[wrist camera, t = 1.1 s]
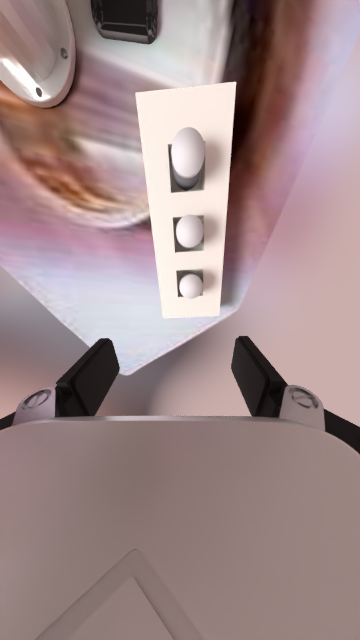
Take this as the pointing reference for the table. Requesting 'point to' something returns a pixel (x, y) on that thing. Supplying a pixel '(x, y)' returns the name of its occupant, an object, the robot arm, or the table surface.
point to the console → (202, 200)
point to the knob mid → (189, 231)
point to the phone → (126, 19)
